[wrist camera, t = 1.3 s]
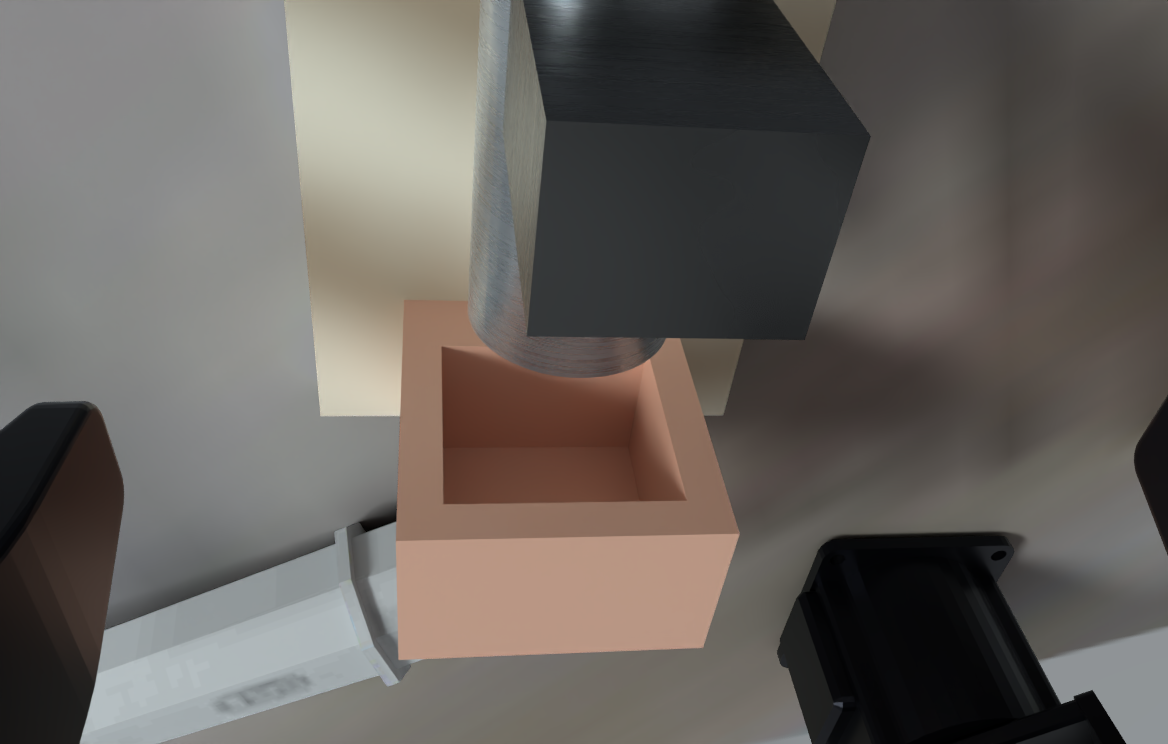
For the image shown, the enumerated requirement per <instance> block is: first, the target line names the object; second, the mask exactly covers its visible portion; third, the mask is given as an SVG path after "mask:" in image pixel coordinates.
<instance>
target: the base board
mask: <svg viewBox="0 0 1168 744" xmlns="http://www.w3.org/2000/svg"><path fill="white" fill-rule="evenodd" d="M773 1H774V2H775V3H776V5H777V6H778V8H779V9H780V10H781V12H782V13H783V14H784V16H785V17H786V19H787V20H788V21H789V23H790V24H791V26H792V27H793V28H794V30H795V31H796V33H797V34H798V35H799V37H800V38H801V40H802V41H803V42H804V44H805V45H806V47H807V48H808V49H809V51H810V52H811V54H812V55H813V56H814V58H815V59H816V60H817V62H818V63H820V59H821V56H822V52H823V48H824V45H825V41H826V37H827V34H828V30H829V26H830V23H831V19H832V15H833V12H834V8H835V4H836V1H837V0H773ZM284 4H285V16H286V27H287V38H288V50H289V61H290V73H291V84H292V95H293V107H294V118H295V130H296V141H297V152H298V164H299V175H300V187H301V198H302V209H303V221H304V232H305V244H306V255H307V266H308V278H309V289H310V301H311V312H312V323H313V335H314V346H315V358H316V369H317V380H318V392H319V403H320V415H321V416H400V405H401V376H402V347H403V317H404V300H444V301H468V290H469V266H470V241H471V216H472V191H473V167H474V142H475V117H476V92H477V68H478V43H479V18H480V0H284ZM680 340H681V344H682V347H683V350H684V353H685V357H686V360H687V363H688V366H689V370H690V373H691V376H692V380H693V383H694V386H695V389H696V393H697V396H698V399H699V402H700V406H701V409H702V412H703V416H723V414H724V411H725V407H726V403H727V400H728V396H729V392H730V389H731V385H732V381H733V378H734V374H735V370H736V367H737V363H738V359H739V356H740V352H741V348H742V345H743V341H744V339H699V338H680Z"/></svg>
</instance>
